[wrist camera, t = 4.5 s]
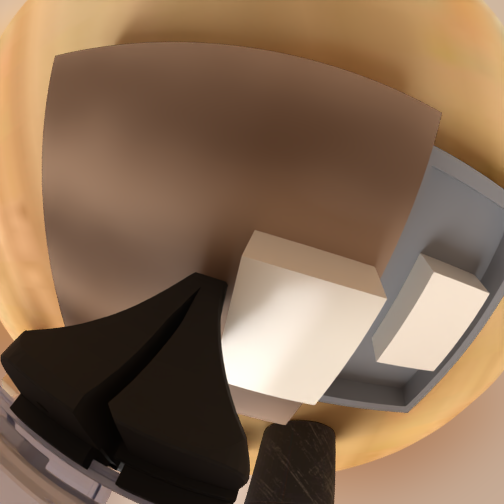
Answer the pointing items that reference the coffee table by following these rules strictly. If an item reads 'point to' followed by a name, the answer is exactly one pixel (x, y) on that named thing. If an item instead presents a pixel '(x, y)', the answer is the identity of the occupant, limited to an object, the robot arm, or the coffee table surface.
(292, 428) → the travel mug
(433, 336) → the tile back
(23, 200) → the coffee table surface
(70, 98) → the brown wooden block
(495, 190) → the box
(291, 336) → the tile front
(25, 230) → the coffee table surface
